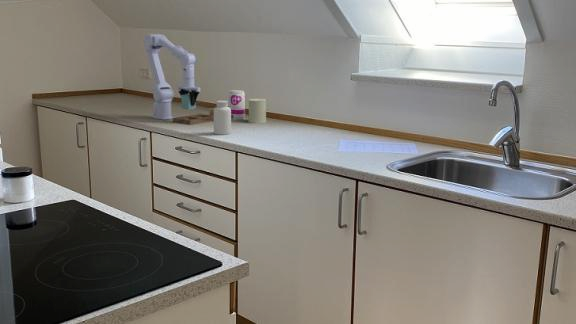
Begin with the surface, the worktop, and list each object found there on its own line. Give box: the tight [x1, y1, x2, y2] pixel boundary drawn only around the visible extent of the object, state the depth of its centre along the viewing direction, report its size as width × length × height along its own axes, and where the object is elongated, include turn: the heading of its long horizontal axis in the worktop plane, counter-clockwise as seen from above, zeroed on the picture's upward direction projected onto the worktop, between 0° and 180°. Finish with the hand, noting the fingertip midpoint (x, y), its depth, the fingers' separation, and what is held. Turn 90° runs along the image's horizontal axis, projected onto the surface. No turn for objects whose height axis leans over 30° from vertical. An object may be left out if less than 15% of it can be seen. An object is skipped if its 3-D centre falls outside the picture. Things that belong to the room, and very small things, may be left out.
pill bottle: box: [213, 100, 232, 136], centre depth 280 cm, size 8×8×15 cm
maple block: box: [208, 107, 215, 116], centre depth 328 cm, size 5×5×7 cm
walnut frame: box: [172, 113, 214, 126], centre depth 316 cm, size 13×20×2 cm, turn 143°
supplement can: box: [228, 89, 246, 121], centre depth 323 cm, size 8×8×15 cm
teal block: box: [180, 93, 197, 110], centre depth 310 cm, size 5×5×7 cm
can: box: [248, 98, 267, 124], centre depth 315 cm, size 9×9×12 cm
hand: (189, 104), depth 311 cm, fingers closed on teal block, 5 cm apart
